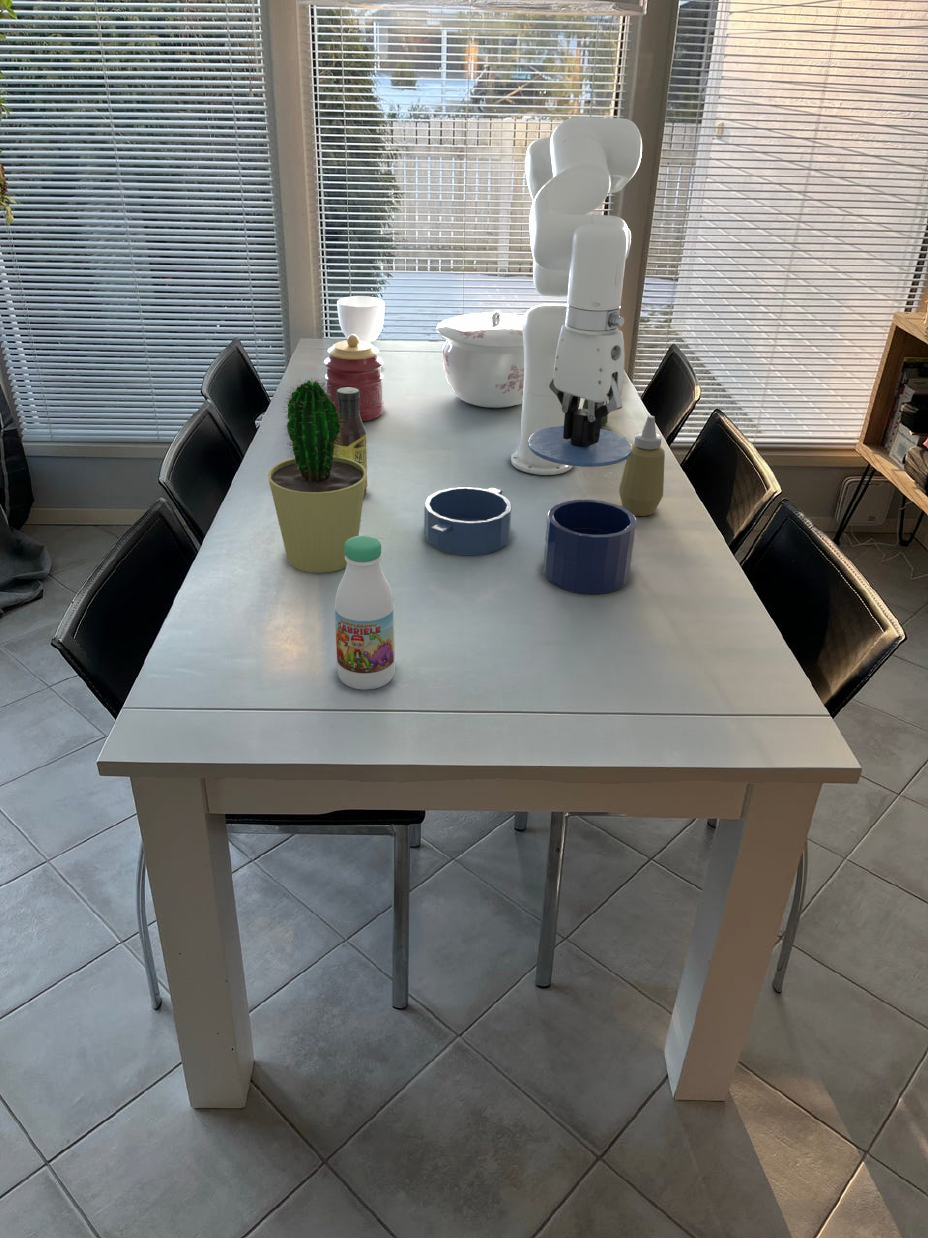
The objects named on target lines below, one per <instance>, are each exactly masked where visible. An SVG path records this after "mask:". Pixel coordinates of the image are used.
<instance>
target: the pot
mask: <svg viewBox="0 0 928 1238" xmlns="http://www.w3.org/2000/svg"><path fill="white" fill-rule="evenodd" d="M636 526H637V518H636V516H635V515H633V514H632V513H631V512H629V511H628V510H627V509H625V508H623V507H622V505H618V504H616V503H612V502H608V501H603V500H597V499H572V500H566V501H563V502H560V503H558V504H555V505H553V506H552V507H551V508H550V509H549V511H548V513H547V517H546V531H545V542H544V553H543V567H542V568H543V574H544V577H545V578H546V579H547V581H548V582H549V583H550V584H552V585H554V586H555V587H557V588H559V589H561V590H564V591H568V592H571V593H575V594H582V595H604V594H609V593H613V592H617V591H618V590H621V589H622V588H624V587H625V586H626V585H627V583H628V582H629V578H630V573H631V565H632V558H633V549H634V541H635V534H636Z"/></svg>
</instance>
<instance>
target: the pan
mask: <svg viewBox="0 0 928 1238" xmlns="http://www.w3.org/2000/svg"><path fill="white" fill-rule="evenodd" d="M512 506H513V505H512V503H511V502H510V500H509V499H508V497H507V496H504V495H503V490H502V489H498V488H495V487H491V486H490V487H489V488H487V489H486V488H482V487H471V486H460V487H447V488H445V489H442V490H438V491H435V492H434V493H432V494H431V495H429V496H427V498H426V500H425V502H424V509H423V510H424V513H423V515H424V517H423V518H424V519H423V521H424V522H423V523H424V525H423V527H424V529H423V533H424V537H425V541H426V542H427V543H428V544H429V545H430V546H431V547H433V548H435V549H436V550H439V551H441V552H443V553H448V554H452V555H457V556H481V555H488V554H491V553H494V552H497V551H500V550H502V549H503V548H504V547H506V546H507V544H508V543H509V541H510V535H511V523H512V522H511V521H512Z"/></svg>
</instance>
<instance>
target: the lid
mask: <svg viewBox="0 0 928 1238" xmlns="http://www.w3.org/2000/svg"><path fill="white" fill-rule="evenodd" d="M586 420H588V409H582V408H578V409H575V410H574V411H573V418H572V429H571V438H570V439H567V440H566V439H564V438H563V432H564V426H557V427H550V428H546V429H542V430H540V431H537V432H535V433H534V434H532V435H531V436H530V438H529V440H528V446H529V449H530V450H531V451H532V452H533V453H534V454H535V455H537V456H539V457H540V458H543V459H545V460H548V461H551V462H554V463H558V464H563V465H569V466H572V467H579V468H598V467H606V466H612V465H613V466H614V465H617V464H620V463H622V462H624V461H626V459H627V458H629V457H630V455H631V453H632V445H633V444H632V443H631V442H630V441H629V440H628V439H627V438H626V437H624V436H622V435H621V434H619V433H616V432H613V431H611V430H606V429H603V428H600V437H599V441H598V442H597V443H595V444H593V445H590V446H587V447H585V446H583V445H582V439H583V429H584V422H585V421H586Z"/></svg>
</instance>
